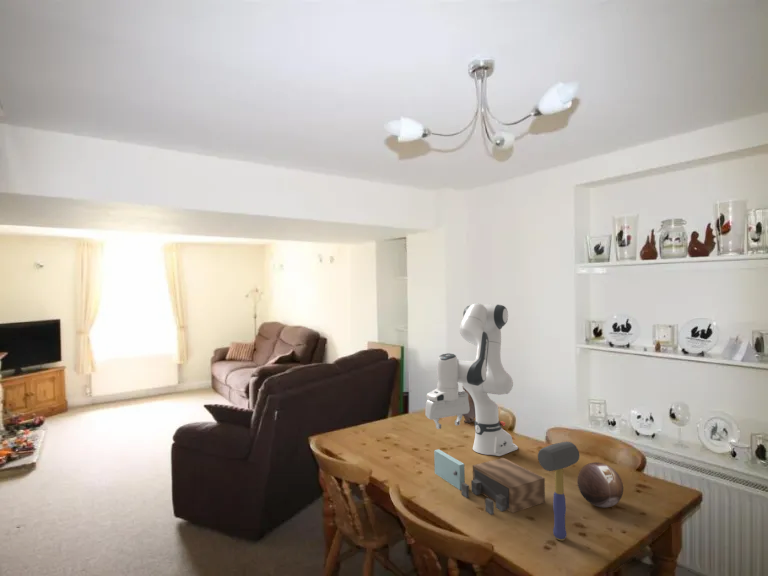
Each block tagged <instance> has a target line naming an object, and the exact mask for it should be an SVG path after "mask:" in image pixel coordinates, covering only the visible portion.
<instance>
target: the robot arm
mask: <svg viewBox="0 0 768 576" xmlns="http://www.w3.org/2000/svg"><path fill="white" fill-rule="evenodd" d="M508 318H509V312H508V308H507V307H506V306H505V305H504V304H503V305H502V304H493V303H492V304H490V303H484V304H481V303H476V302H475V303H472V304H470V305H467V306H466V307H465V308H464V310H463V315H462V319H461V322H460V323H459V333H460V336H461V337H462V338H463V339H464V340H465V342H468V343H470V344H472V345H474V346H476V353H475V359H474V360H465V359H464V360H463V359H458V358H457V355H456V354H454V353H450V352H449V353H442V354H440V355H439V356H438V357H437V365H436V378H437V384H436V388H435V389H433V390H431V391H430V392H427V394H426V398H427V400H426V402H425V410H424V411H425V413H424V414H425V417H426V418H427V419H429V420H430V421H431V420H433V422H434V424H435V429H437V430H440V429H442V424H441V423H439V422H440V419H442V418H449V417H455V416H456V420H454V425H455V426H460V425H461V420H462V419H463V416H462V414H467V413H469V411H470V408H469V400H468V394H467V392H465V390H463V391H459V383H460V384H461V387H462V386H463V387H464V388H465V389H466V390H467V391H468V392H469V394H470V395H471V397H472V399H473V401H474V405H475V415H476V417H475V419H474V431H475V432H474V442H473V444H472V445H473V446H472V450H473V451H474V452H476V453H478V454H482V455H486V456H487V455H488V456H497V457H501V456H504V455H506V454H508V453H512V452H514V451H516V450H518V449H519V446H517V444H515V443H513V442H514V441H513V437H512V435H511V434H510V433H509V432H507V431H506V430H504V428H502V427H505V426H506V422H505V421H500V420H499V406H498V404H497V403H496V401H494V400H493V399H491V398H490V396H489V395H488V394H490V395H491V394H492V395H498V396H499V395H508V394H510V393H511V391H512V390H513V387H514V382H513V381H514V379H513V378H512V376H511V375H510V374H509V373H508V371H506V370H505V368H504V367H503V364H502V359H501V345H502V332H501V330H502V328H503V327H504V326H505V325H506V324H508V323H507V322H508ZM463 387H462V388H463Z"/></svg>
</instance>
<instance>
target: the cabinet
mask: <svg viewBox="0 0 768 576" xmlns="http://www.w3.org/2000/svg"><path fill="white" fill-rule="evenodd" d="M545 479H546V478H545V477H544V476H541V475H540V474H537V473H535V472H534V471H531V470H529V469H528V468H525V467H523V466H520V465H519V464H517V463H515V462H514V461H512V460H511V461H510V460H509V459H507V458H504V457H501V458H498V459H497V458H496V459H493V460H489V461H486V462H481V463H477V464H473V465H472V479H471V480H470V481H471V482H470V483H471V487H469V486H470V485H469V484H467V483H461V486H462V490H461V496H463V497H464V498H466V499H468V498H470V488H471V493H472V494H474V495H475V496H478V495H483V496H485V497H486V498H484V499H485V501H484V502H485V505H484V507H485V512H486V513H487V514H489V515H490V516H492V515H494V514H495V511H494V510H495V509H497V510H498V511H500V512H505V511H509V512H510V513H512V514H513V513H516V512H519V511H523V510H525V509H527V508H532V507H534V506H537V505H541V504H544V503H546V489H545V488H546V485H545V484H546V483H545V481H546V480H545ZM494 502H495V503H494ZM494 504H495V507H494Z"/></svg>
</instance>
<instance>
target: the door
mask: <svg viewBox="0 0 768 576" xmlns="http://www.w3.org/2000/svg"><path fill="white" fill-rule="evenodd" d="M433 452H434V453H433V455H434V456H433V458H434V459H433V461H434V474H435V475H437V476H438V477H440V478H441V479H443V480H444V481H446V482H447V483H448V484H449V485H452V486H453V487H454V488H456V489H458V491H462V486H461V483H465V481H466V479H465V470H466V469H465V463H463V462H462V461H461V460H458V459H457V458H455V457H453V456H451V455H450V454H448V453H447V452H444V451H443V450H441V449H439V448H438V449H434V451H433Z"/></svg>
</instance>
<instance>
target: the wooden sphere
mask: <svg viewBox="0 0 768 576" xmlns="http://www.w3.org/2000/svg"><path fill="white" fill-rule="evenodd" d="M576 481H577V486H578V487H577V488H578V490H579V492H580V494H581V496H582V497H583V498H584V499H585V500H586V501H587V502H588V503H590V504H591V505H593V506H596V507H599V508H610V507H613V506H615V505H617V504H618V503H619V502H620V501H621V499H622V497H623V493H624V483H623V481H622V478H621V476H620V475H619V473H618V472H617V471H616V470H615V469H614V468H613V467H611V466H610V465H608V464H606V463H603V462H599V461H598V462H590V463H588V464H585V465H584V466H582V467H581V469H580V470H579V473H578V474H577V479H576Z"/></svg>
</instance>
